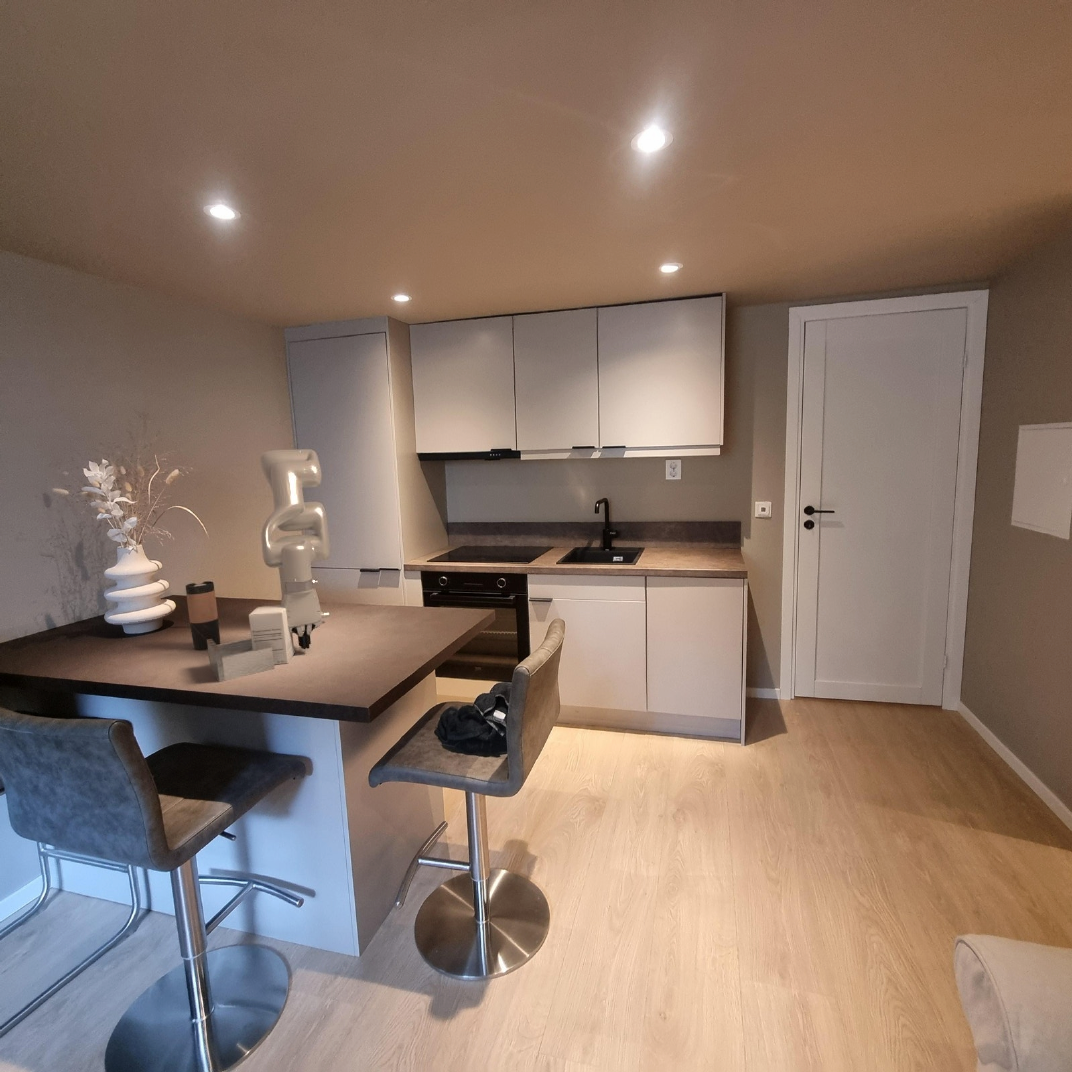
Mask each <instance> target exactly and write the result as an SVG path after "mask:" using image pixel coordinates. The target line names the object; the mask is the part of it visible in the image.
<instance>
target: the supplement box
mask: <svg viewBox="0 0 1072 1072" xmlns="http://www.w3.org/2000/svg"><path fill="white" fill-rule="evenodd" d="M248 620H249V621H248V622H249V629H250V638H251V639H252V648H253V650H257V649H262V648H266V647H272V652H273V662H274V666H275V665H282V664H283V665H284V664H289V662H290V661H291V660H292V658H293V656H294V654H295V646H294V645H295V644H294V638H293V636H294V635H293V632H290V629H289V627H288V623H287V615H286V608H284V607H282V606H281V604H279V605H263V606H256V608H255V609H254V610H252V611H251V612H250V613H249V614H248Z"/></svg>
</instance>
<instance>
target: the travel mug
mask: <svg viewBox="0 0 1072 1072" xmlns="http://www.w3.org/2000/svg"><path fill="white" fill-rule="evenodd" d="M185 593H186V594H185V595H186V601H187V610H188V618H189V619H188V620H189V627H190V631H191V632H190V633H191V638H192V644H193V649H194V650H196V651H206V650H207V651H208V645H207V640H208V639H212V640H213V641H214V642H215V644H216V645H219V644H221V635H220V623H219V614H218V613H219V612H218V606H217V599H216V592H215V584H214V582H213V581H203V582H202V583H195V582H193V583H189V584H186V585H185Z"/></svg>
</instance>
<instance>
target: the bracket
mask: <svg viewBox="0 0 1072 1072" xmlns="http://www.w3.org/2000/svg"><path fill="white" fill-rule="evenodd" d="M207 645H208V649H207V651H208V652H207V653H208V658H209V659H208V660H209V667H210V670H211V671H212V672H213V674H214V676H215V677H216V678H217V680H218V682H219V683H221V682H225V681H230V680H234V679H237V678H241V677H242V678H243V677H246V676H250V675H255V674H258V673H262V672H266V671H272V670H274V669H275V665H274V662H273V652H272V647H266V648H262V649H257V650H253V648H252V639H251V637H248V638H244V639H239V640H233V641H228V642H225V643H220V644H219V645H216V644H215V642H214V641H213V640H212V639H208V640H207Z"/></svg>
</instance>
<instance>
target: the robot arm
mask: <svg viewBox="0 0 1072 1072" xmlns="http://www.w3.org/2000/svg"><path fill="white" fill-rule="evenodd" d="M259 461H260V467H261V470H262V473H263V475H264V477H265V479H266V481H267V483H268V485H269V486H270V488H271V492H272V498H273V510H274V511H273V512H272V513H271V514H270V515H269V516H268V517H267V518H266V520H265V522H264V524H263V526H262V529H261V533H260V534H261V536H260V537H261V538H260V539H261V550H262V551H261V552H262V558H263V561H264V564H265V565H266V566H267V567H269V568H274V569H275V568H278V573H279V574H278V575H279V581H280V591H281V602H280V605H281V606H282V607H284V608H286V615H287V623H288V627H289V629H290V632H292V633H294V634H296V635H297V639H298V641H297V642H298V646H299V647H300V648H302V649H303V650H306V649H310V645H311V644H312V641H311V634H312V632H313V630H314V629H316V628H318V627H319V626H320V625H321V626H322V624H323V621H322V619H323V618H324V619H325V618H329V617H330V613H329V611H325V612H323V611H322V609H321V604H320V601H319V596H318V593H317V590H316V588H315V587H314V586H315V585H318V580H317V579H314V578H313V574H312V565H311V564H312V563H314V562H322V561H326V560H328V559H329V558H330V556H331V543H330V533H329V526H328V525H329V524H328V518H327V516H328V515H327V512H326V509H325V507H324V505H323V503H321V502H319V501H305V500H304V492H303V488H317V487H319V486H320V485H321V483H322V468H321V464H320V461H319V457H318V454H317V452H316V451H315V450H313V449H310V448H308V449H307V448H305V449H304V448H301V449H273V450H268V451H265V452H262V454H261V455H260V458H259ZM277 528H278V530H279V531H281V532H301V531H302V532H303V531H313V532H314V533H306V534H292V535H286V536H285V535H284V536H282V537H279V538H277V539H276V540H275V541H273V540H272V536H273V535H272V534H273V532H274V530H275V529H277Z"/></svg>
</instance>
